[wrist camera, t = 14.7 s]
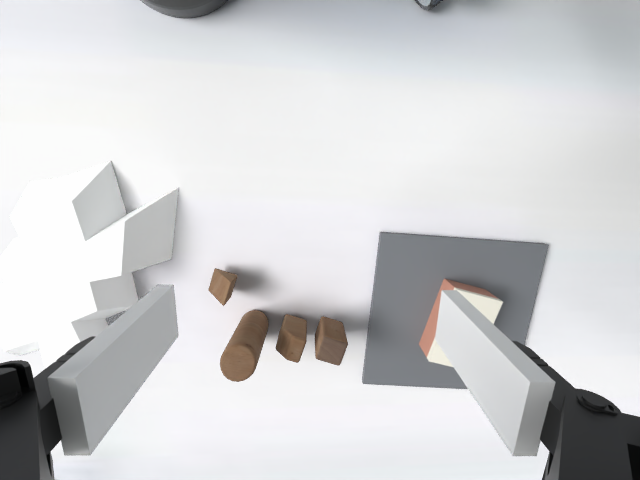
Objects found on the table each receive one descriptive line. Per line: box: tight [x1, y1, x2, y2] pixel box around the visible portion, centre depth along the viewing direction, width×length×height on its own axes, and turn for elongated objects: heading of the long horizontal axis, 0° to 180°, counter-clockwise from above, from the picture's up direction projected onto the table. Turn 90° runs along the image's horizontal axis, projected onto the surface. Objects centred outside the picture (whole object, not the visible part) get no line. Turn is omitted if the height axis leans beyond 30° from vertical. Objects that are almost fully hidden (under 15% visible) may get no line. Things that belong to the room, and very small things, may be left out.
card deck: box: [419, 279, 503, 367], centre depth 41 cm, size 6×10×4 cm, turn 164°
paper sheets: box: [0, 161, 179, 369], centre depth 40 cm, size 35×20×6 cm, turn 148°
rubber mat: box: [362, 232, 548, 389], centre depth 44 cm, size 22×22×1 cm
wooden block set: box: [209, 268, 348, 382], centre depth 38 cm, size 18×9×10 cm, turn 71°
